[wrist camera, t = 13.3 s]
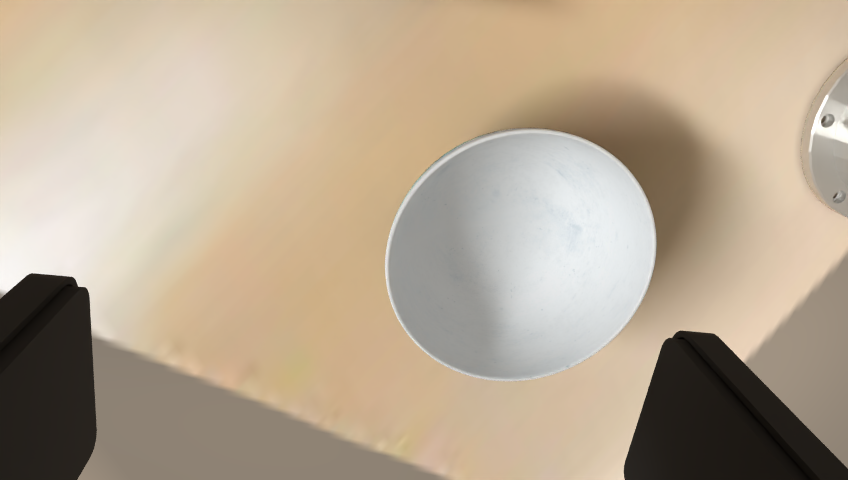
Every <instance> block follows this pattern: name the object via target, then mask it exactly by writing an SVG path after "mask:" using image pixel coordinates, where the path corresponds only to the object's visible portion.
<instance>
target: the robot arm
mask: <svg viewBox="0 0 848 480" xmlns="http://www.w3.org/2000/svg"><path fill="white" fill-rule="evenodd" d="M801 160H802V166H803V172H804V175H805V178H806V180H807V182H808V185H809V187H810V189H811V190H812V191H813V193H814V194H815V195H816V197H817V198H818V199H819V200H820V201H821V202H822V203H823V204H825V205H826V206H827V207H828V208H830V209H831V210H833V211H835V212H837V213H839V214H841V215H843V216H845V217H848V58H847V59H846V60H845V61H844V62H843V63H842V64H841V65H840V66H839V67H838V68H837V69H836V70H835V71H834V72H833V74H832V75H831V76H830V77H829V78H828V80H827V81H826V82H825V83H824V85H823V86H822V88H821V90H820V91H819V93H818V95H817V97H816V98H815V100H814V102H813V104H812V106H811V109H810V111H809V114H808V116H807V119H806V121H805V126H804V130H803V135H802V140H801ZM93 375H94V374H93V355H92V336H91V318H90V299H89V293H88V290H87V289H86V288H85V287H78V285H77V283H76V280H75V279H74V278H73V277H67V276H56V275H45V274H33V273H31V274H29V275H27V276H26V277H25V278H24V279H23V280H21V281H20V282H19V283H18V284H17V285H16V286H14V287H13V288H12V289H11V290H10V291H9V292H8V293H6V294H5V295H4V296H3V297H2V298H1V299H0V480H77V479H78V477H79V475H80V474H81V472H82V470H83V469H84V467H85V465H86V464H87V462H88V460H89V458H90V456H91V454H92V452H93V449H94V446H95V441H96V431H97V429H96V411H95V392H94V376H93ZM624 478H625V480H848V469H847V468H846V467H845V466H844V464H842V463H841V461H840V460H838V458H837V457H836V456H835V455H834V454H833V453H832V452H831V451H830V450H829V449H828V448H827V447H826V446H825V445H824V444H823V443H822V442H821V441H820V440H819V439H818V438H817V437H816V436H815V435H814V434H813V433H812V432H811V431H810V430H809V429H808V428H807V427H806V426H805V425H804V424H803V423H802V422H801V421H800V420H799V419H798V418H797V417H796V416H795V415H794V414H793V413H792V412H791V411H790V410H789V408H788V407H787V406H786V405H785V404H784V403H783V402H781V400H780V399H779V398H778V397H777V396H776V395H775V394H774V393H773V392H772V391H771V390H770V389H769V388H768V387H767V386H766V385H765V384H764V383H763V382H762V381H761V380H760V379H759V378H758V377H757V376H756V375H755V374H754V373H753V372H752V371H751V370H750V369H749V368H748V367H747V366H746V365H745V364H744V363H743V362H742V361H741V360H740V359H739V358H738V357H737V356H736V355H735V353H734V352H733V351H732V350H731V349H730V348H729V347H728V346H727V345H726V344H725V343H724V342H723V341H722V340H721V339H720V338H719V337H718V336H716V335H715V334H712V333H701V332H690V331H679V332H677V333H676V334H675V335H674V336H673V338H668V339H666V340H665V342H664V343H663V345H662V348H661V351H660V354H659V357H658V360H657V363H656V367H655V370H654V373H653V376H652V379H651V382H650V385H649V389H648V392H647V395H646V398H645V401H644V404H643V407H642V411H641V414H640V417H639V420H638V423H637V426H636V429H635V433H634V436H633V439H632V442H631V445H630V448H629V451H628V455H627V458H626V461H625V465H624Z"/></svg>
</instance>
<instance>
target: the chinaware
mask: <svg viewBox="0 0 848 480" xmlns="http://www.w3.org/2000/svg"><path fill="white" fill-rule="evenodd" d="M656 248H657V240H656V228H655V222H654V217H653V213H652V210H651V207H650V204H649V202H648V199H647V197H646V195H645V193H644V191H643V189H642V187H641V186H640V184H639V182H638V181H637V180H636V178H635V177H634V175H633V174H632V173H631V172H630V171H629V169H628V168H627V167H626V166H625V165H624V164H623V163H622V162H621V161H620V160H618V159H617V158H616V157H615V156H614V155H612V154H611V153H610V152H608V151H607V150H605V149H604V148H602V147H600V146H599V145H597V144H595V143H593V142H591V141H589V140H587V139H584V138H582V137H579V136H576V135H573V134H570V133H566V132H562V131H557V130H551V129H543V128H514V129H506V130H500V131H496V132H492V133H488V134H485V135H482V136H479V137H476V138H474V139H471V140H469V141H467V142H465V143H463V144H461V145H459V146H457V147H455V148H454V149H452V150H450V151H449V152H447V153H446V154H444V155H443V156H442V157H440V158H439V159H438V160H437V161H435V162H434V163H433V164H432V165H431V166H430V167H429V168H428V169H427V170H426V171H425V172H424V173H423V174H422V175H421V176H420V177H419V179H418V180H417V181H416V182H415V184H414V185H413V186H412V188H411V189H410V191H409V192H408V194H407V195H406V197H405V198H404V200H403V202H402V204H401V206H400V208H399V210H398V212H397V214H396V217H395V219H394V222H393V224H392V227H391V231H390V234H389V238H388V243H387V249H386V257H385V275H386V284H387V290H388V294H389V298H390V301H391V304H392V307H393V309H394V312H395V314H396V316H397V318H398V320H399V322H400V323H401V325H402V327H403V328H404V330H405V331H406V332H407V334H408V335H409V336H410V338H411V339H412V340H413V341H414V342H415V343H416V344H417V345H418V346H419V347H420V348H421V349H422V350H423V351H424V352H425V353H427V354H428V355H429V356H430V357H432V358H433V359H435V360H436V361H438V362H439V363H441V364H443V365H445V366H446V367H448V368H450V369H453V370H455V371H457V372H460V373H463V374H465V375H469V376H472V377H476V378H481V379H486V380H494V381H523V380H531V379H536V378H541V377H545V376H549V375H552V374H555V373H558V372H561V371H564V370H566V369H569V368H571V367H573V366H575V365H577V364H579V363H581V362H583V361H584V360H586V359H588V358H589V357H591V356H593V355H594V354H595V353H597V352H598V351H600V350H601V349H602V348H604V347H605V346H606V345H607V344H608V343H610V342H611V341H612V340H613V339H614V338H615V337H616V336H617V335H618V334H619V333H620V332H621V331H622V330H623V328H624V327H625V326H626V325H627V324H628V322H629V321H630V320H631V318H632V317H633V315H634V314H635V312H636V311H637V309H638V308H639V306H640V304H641V302H642V300H643V298H644V296H645V294H646V292H647V289H648V287H649V284H650V281H651V278H652V274H653V270H654V265H655V259H656Z"/></svg>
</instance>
